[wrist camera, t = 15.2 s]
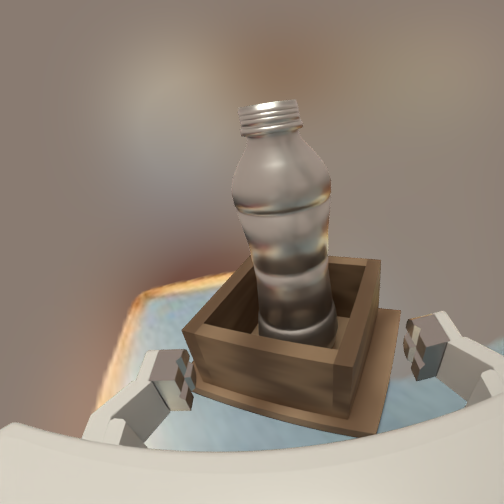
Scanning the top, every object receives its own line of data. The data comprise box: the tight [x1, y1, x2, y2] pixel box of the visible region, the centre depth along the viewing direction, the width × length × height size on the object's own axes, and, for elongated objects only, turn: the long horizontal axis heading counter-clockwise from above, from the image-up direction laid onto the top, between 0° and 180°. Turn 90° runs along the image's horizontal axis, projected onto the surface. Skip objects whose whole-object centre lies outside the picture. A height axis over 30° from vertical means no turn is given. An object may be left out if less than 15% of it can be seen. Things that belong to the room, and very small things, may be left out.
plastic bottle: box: [231, 100, 338, 349], centre depth 22 cm, size 6×7×20 cm
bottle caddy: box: [182, 255, 401, 438], centre depth 26 cm, size 17×14×7 cm
